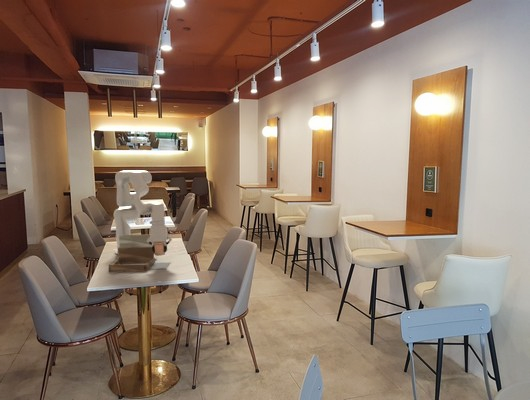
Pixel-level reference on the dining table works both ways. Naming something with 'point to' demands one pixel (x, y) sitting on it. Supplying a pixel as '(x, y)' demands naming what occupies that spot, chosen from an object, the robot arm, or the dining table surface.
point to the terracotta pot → (159, 248)
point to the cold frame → (133, 254)
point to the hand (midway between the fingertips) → (159, 251)
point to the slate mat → (160, 266)
